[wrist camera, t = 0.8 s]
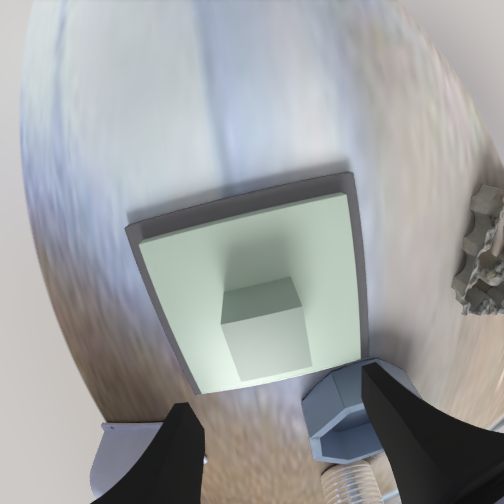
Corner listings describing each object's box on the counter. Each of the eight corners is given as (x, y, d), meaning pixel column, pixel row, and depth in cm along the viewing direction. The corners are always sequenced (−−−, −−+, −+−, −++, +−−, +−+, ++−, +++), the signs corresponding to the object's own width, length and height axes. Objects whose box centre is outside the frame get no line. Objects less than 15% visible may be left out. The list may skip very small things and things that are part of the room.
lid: (203, 384, 21) (197, 429, 17) (143, 239, 17) (116, 267, 13) (356, 351, 20) (377, 390, 16) (340, 192, 16) (372, 206, 12)
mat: (196, 388, 22) (195, 394, 21) (128, 224, 17) (124, 228, 17) (365, 350, 21) (368, 356, 21) (348, 171, 17) (353, 172, 16)
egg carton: (470, 174, 17) (506, 182, 13) (517, 194, 18) (547, 204, 14) (439, 300, 21) (466, 324, 17) (488, 300, 21) (513, 320, 17)
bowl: (308, 437, 25) (315, 472, 21) (296, 377, 22) (305, 418, 18) (395, 410, 25) (411, 440, 21) (404, 344, 22) (428, 377, 18)
